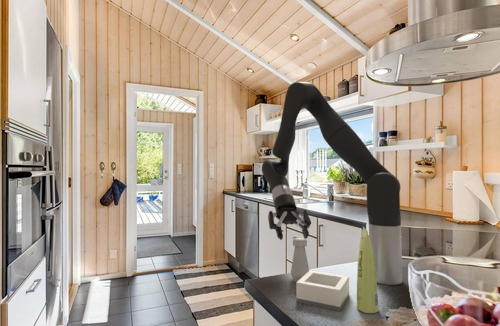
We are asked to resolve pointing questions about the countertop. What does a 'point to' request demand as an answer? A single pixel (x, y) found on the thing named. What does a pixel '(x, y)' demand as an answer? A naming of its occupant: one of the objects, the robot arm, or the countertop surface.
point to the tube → (366, 277)
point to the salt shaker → (299, 259)
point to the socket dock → (323, 290)
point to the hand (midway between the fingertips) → (294, 237)
